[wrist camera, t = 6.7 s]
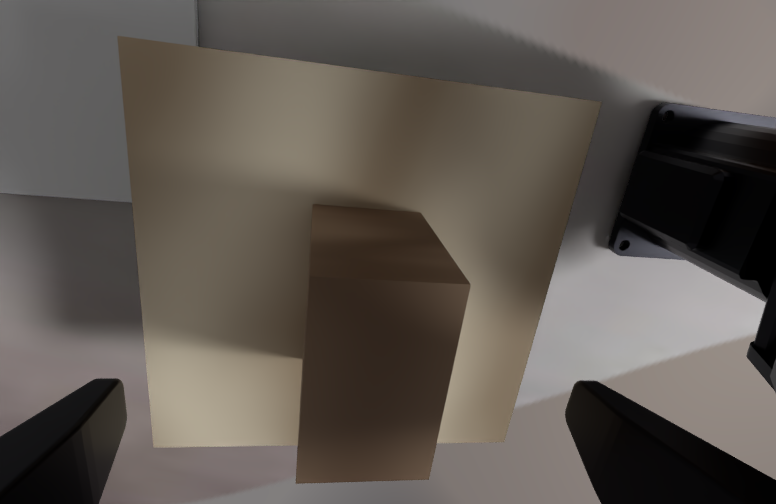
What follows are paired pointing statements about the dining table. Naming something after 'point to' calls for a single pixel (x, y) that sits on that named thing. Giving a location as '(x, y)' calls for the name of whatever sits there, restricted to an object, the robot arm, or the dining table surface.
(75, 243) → the dining table surface
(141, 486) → the dining table surface
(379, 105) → the lid
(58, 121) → the mat
